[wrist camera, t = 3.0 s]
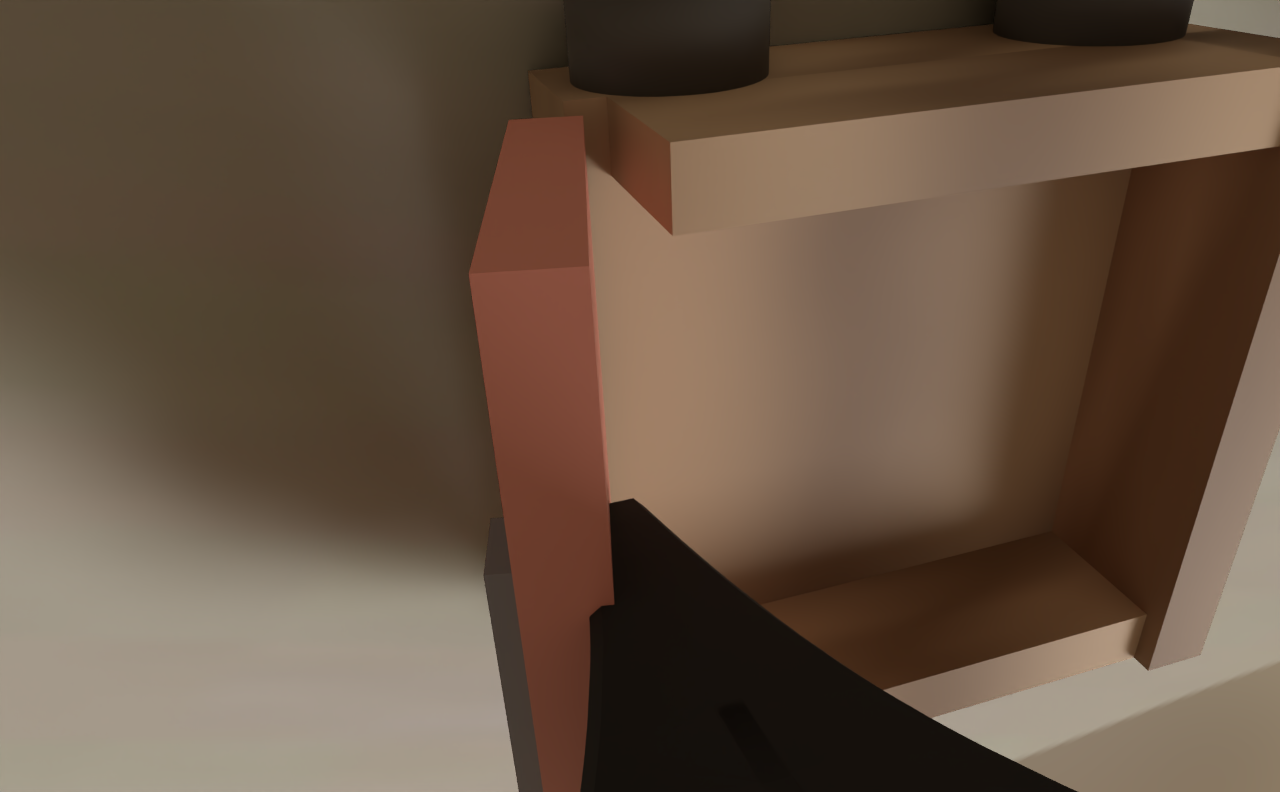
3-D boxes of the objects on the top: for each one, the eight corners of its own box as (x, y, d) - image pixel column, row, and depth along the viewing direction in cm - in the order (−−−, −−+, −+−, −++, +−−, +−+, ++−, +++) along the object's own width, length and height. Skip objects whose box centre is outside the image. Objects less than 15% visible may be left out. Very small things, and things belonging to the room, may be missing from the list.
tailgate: (583, 115, 10) (588, 265, 6) (625, 693, 14) (643, 993, 11) (480, 121, 10) (424, 276, 6) (553, 699, 14) (546, 1002, 10)
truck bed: (1128, -62, 14) (1443, -41, 10) (1011, 537, 19) (1185, 699, 15) (519, -14, 11) (620, 35, 8) (584, 645, 17) (662, 864, 13)
